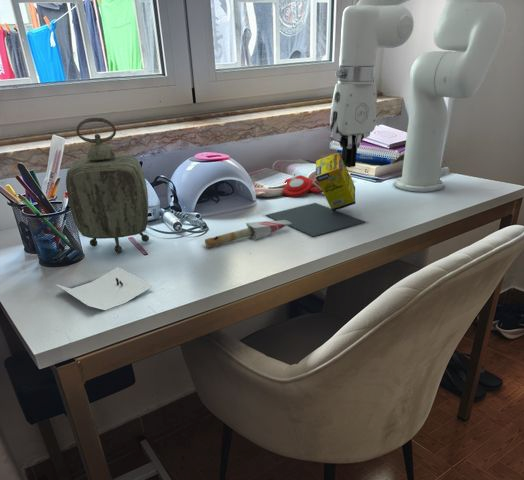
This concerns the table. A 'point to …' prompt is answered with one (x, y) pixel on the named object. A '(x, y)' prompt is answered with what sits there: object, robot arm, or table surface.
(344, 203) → the supplement box
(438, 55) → the robot arm
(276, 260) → the table surface
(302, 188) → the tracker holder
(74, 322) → the table surface
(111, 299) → the folded paper
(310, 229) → the mat
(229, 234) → the paintbrush
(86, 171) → the tabletop clock
